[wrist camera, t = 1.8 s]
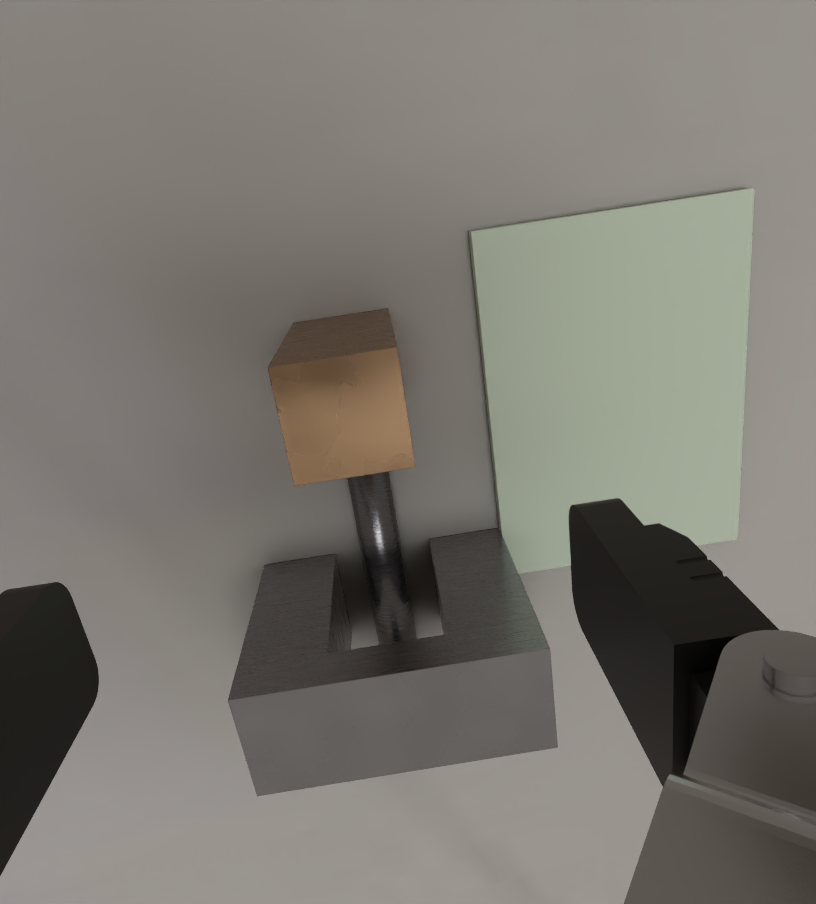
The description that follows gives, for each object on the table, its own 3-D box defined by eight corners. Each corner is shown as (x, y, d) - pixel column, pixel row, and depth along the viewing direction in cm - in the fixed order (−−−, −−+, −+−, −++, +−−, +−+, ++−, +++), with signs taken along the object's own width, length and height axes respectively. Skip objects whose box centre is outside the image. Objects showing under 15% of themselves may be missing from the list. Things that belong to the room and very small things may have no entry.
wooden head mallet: (293, 323, 24) (267, 367, 17) (387, 308, 24) (397, 347, 17) (370, 694, 30) (372, 829, 24) (444, 682, 30) (467, 814, 24)
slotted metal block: (264, 565, 27) (227, 700, 20) (498, 528, 27) (549, 648, 20) (284, 642, 29) (257, 796, 21) (507, 607, 29) (557, 747, 21)
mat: (468, 231, 23) (471, 231, 23) (744, 188, 23) (754, 187, 23) (503, 568, 28) (506, 575, 28) (730, 532, 28) (737, 538, 28)
